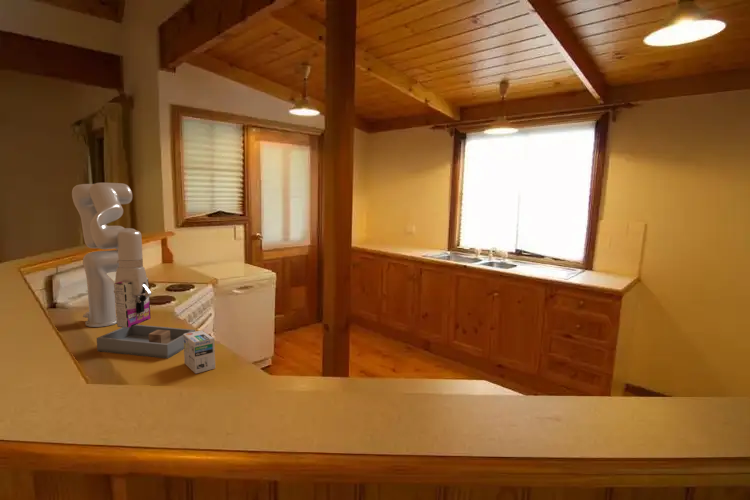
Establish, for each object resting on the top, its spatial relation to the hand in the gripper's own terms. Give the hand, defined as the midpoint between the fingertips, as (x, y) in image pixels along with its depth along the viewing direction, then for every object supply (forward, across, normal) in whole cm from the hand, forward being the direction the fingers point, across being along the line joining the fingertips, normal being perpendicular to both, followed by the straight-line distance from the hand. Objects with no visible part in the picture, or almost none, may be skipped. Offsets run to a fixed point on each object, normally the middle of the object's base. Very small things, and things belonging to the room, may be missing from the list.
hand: (133, 311), depth 146 cm
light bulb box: (+14, +33, -11) cm, 38 cm away
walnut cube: (+12, +10, 0) cm, 16 cm away
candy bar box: (+5, 0, 0) cm, 5 cm away
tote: (+13, +5, 0) cm, 14 cm away
